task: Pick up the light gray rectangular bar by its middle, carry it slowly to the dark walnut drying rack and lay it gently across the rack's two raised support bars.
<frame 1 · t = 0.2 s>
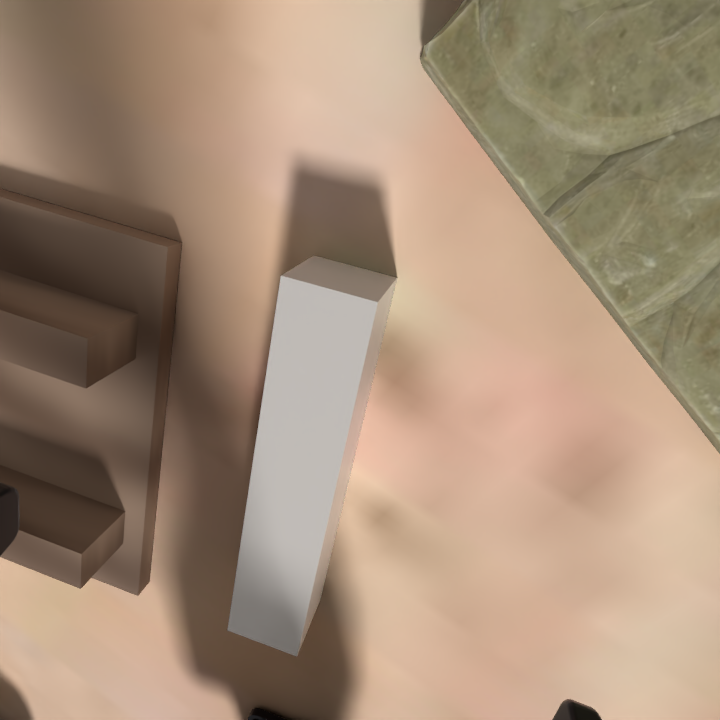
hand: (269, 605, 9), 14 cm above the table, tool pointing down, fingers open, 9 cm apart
light gray rectangular bar: (319, 445, 24), on the table
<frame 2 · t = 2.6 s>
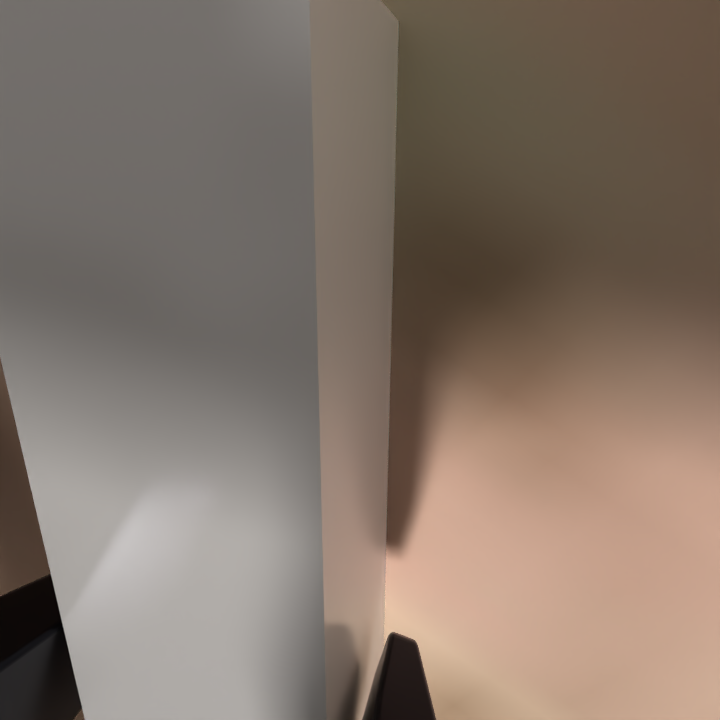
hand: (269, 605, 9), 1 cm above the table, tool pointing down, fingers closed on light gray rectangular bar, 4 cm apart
light gray rectangular bar: (298, 545, 10), on the table, touching gripper
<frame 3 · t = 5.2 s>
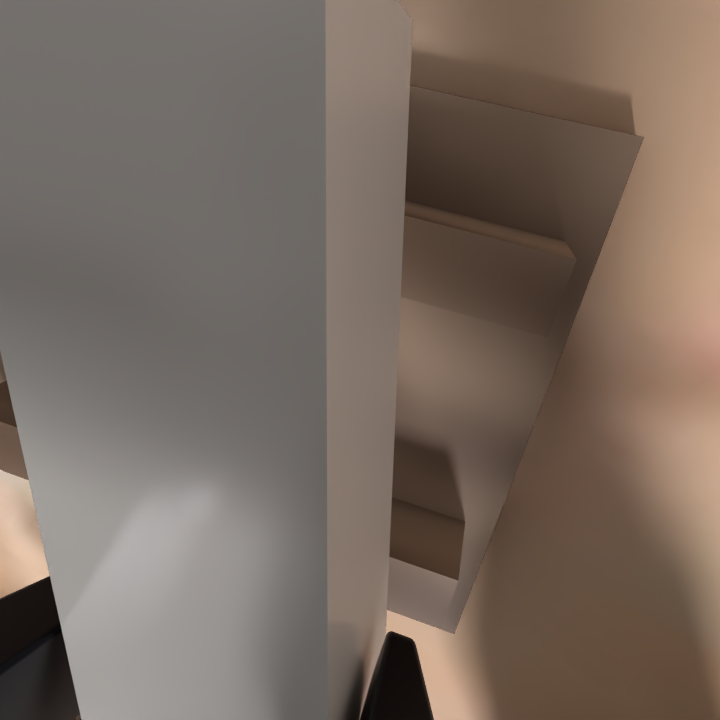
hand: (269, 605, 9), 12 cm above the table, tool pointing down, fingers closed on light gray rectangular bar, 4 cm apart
walnut rack: (255, 336, 21), on the table
light gray rectangular bar: (299, 546, 10), point 10 cm above the table, touching gripper
when the fingers open (6 cm above the table, at t = 7.5 s): light gray rectangular bar drops 1 cm, resting on walnut rack.
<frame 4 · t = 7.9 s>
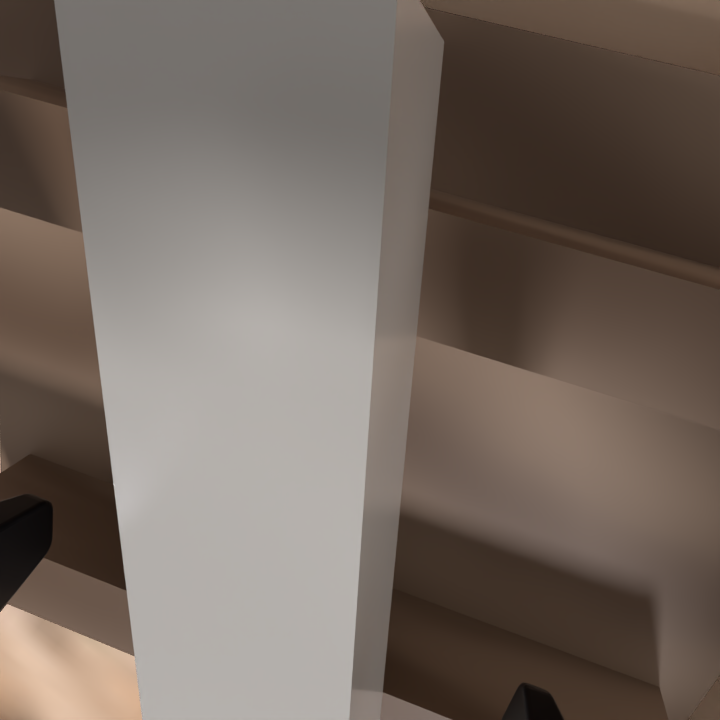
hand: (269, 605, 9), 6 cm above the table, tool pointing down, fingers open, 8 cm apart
walnut rack: (363, 419, 15), on the table
light gray rectangular bar: (317, 508, 11), point 4 cm above the table, touching walnut rack
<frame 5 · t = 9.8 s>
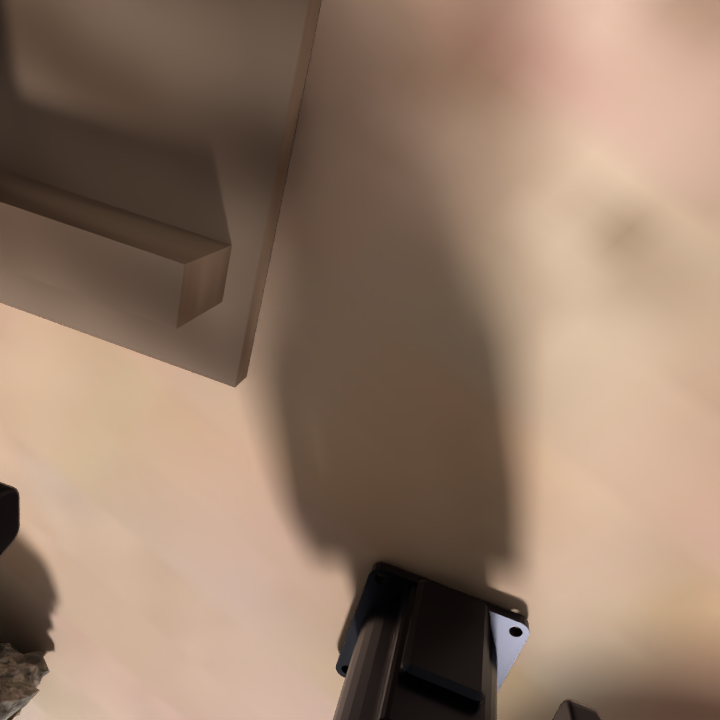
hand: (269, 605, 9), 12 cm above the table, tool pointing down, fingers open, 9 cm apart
walnut rack: (15, 40, 19), on the table
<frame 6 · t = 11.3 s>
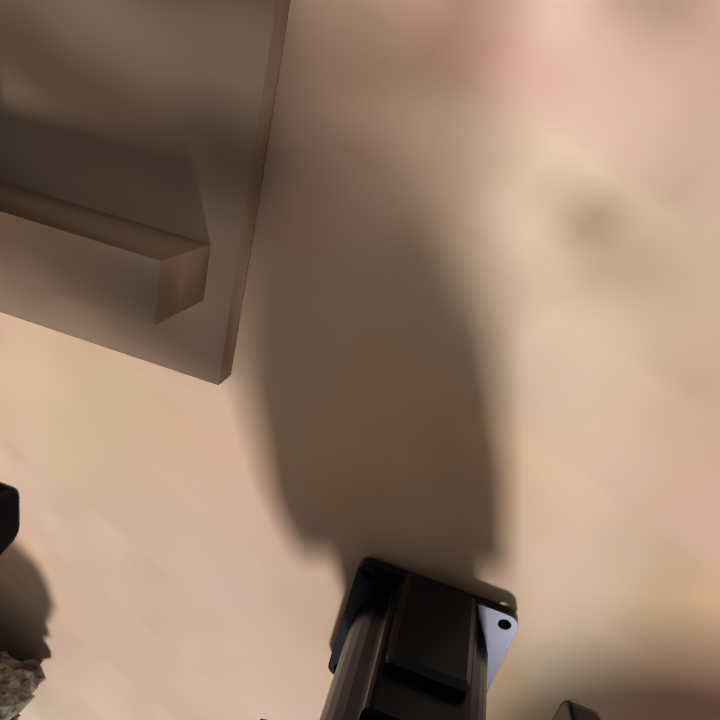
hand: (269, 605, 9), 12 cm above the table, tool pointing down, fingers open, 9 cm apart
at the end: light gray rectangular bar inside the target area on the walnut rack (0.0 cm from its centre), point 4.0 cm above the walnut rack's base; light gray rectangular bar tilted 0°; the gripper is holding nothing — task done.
